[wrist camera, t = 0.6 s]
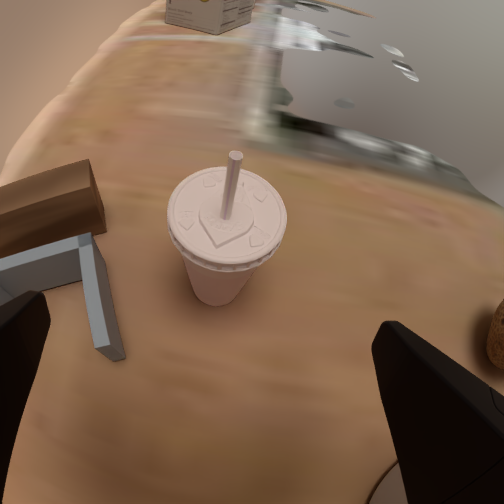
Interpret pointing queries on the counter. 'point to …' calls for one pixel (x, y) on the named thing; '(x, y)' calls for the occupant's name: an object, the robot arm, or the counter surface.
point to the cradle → (63, 272)
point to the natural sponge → (496, 338)
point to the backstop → (50, 208)
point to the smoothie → (225, 228)
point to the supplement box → (209, 14)
